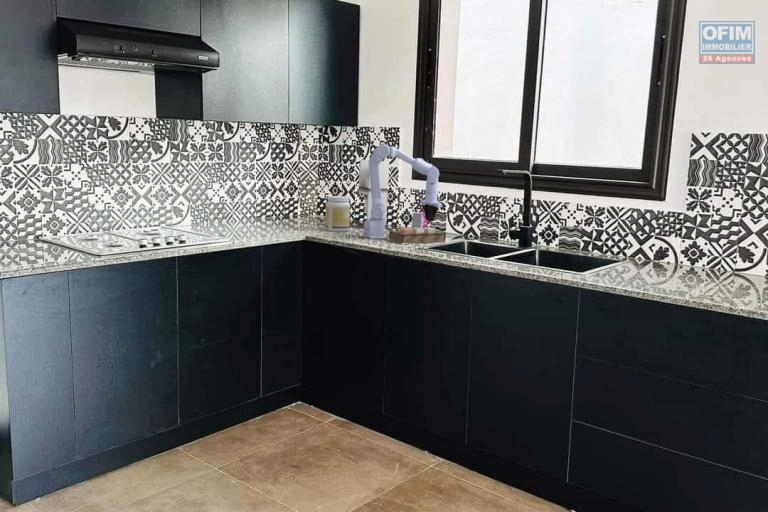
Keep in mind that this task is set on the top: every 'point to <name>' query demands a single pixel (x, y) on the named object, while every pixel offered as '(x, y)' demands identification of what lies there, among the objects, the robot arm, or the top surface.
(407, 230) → the terracotta key
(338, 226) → the supplement tub
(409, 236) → the frame
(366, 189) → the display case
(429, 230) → the sage key
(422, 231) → the cream key
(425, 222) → the supplement box
